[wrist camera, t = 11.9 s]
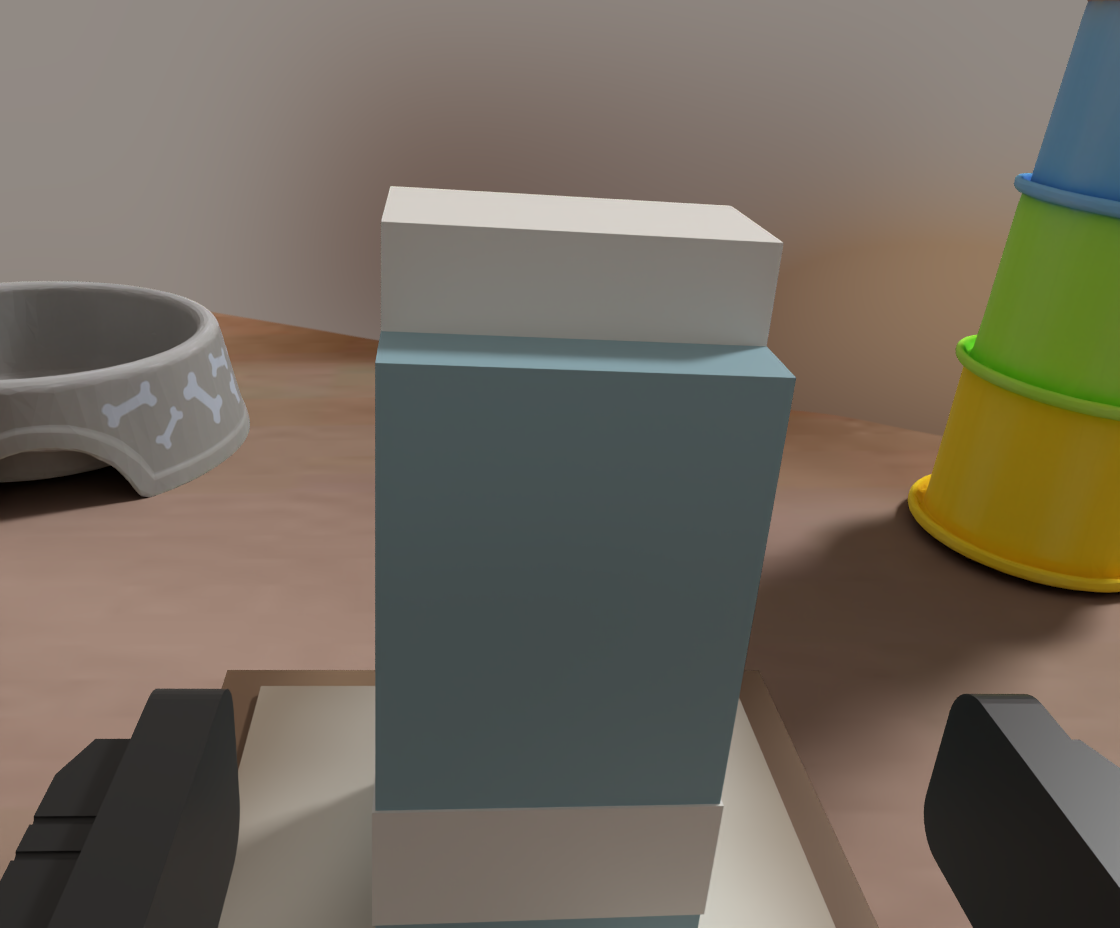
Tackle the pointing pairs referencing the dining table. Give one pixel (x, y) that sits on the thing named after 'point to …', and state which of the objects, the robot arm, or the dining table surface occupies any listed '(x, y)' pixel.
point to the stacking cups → (1047, 356)
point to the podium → (347, 797)
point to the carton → (564, 551)
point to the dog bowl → (113, 385)
